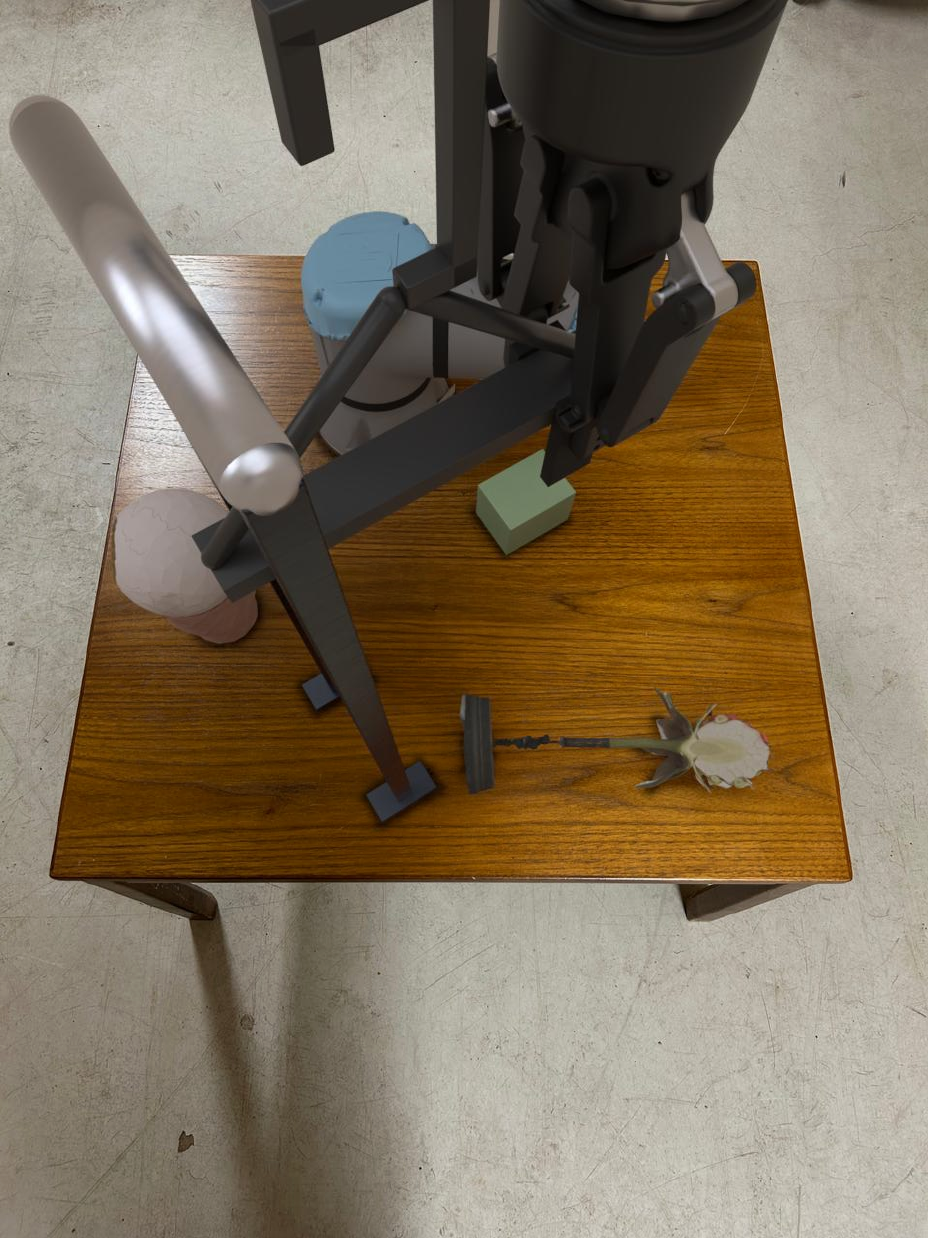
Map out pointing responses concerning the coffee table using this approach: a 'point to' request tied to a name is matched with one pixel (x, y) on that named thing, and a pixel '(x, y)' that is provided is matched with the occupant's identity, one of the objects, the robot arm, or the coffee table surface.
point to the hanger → (399, 292)
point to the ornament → (636, 746)
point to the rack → (213, 417)
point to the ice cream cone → (176, 565)
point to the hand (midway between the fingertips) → (544, 443)
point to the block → (522, 503)
